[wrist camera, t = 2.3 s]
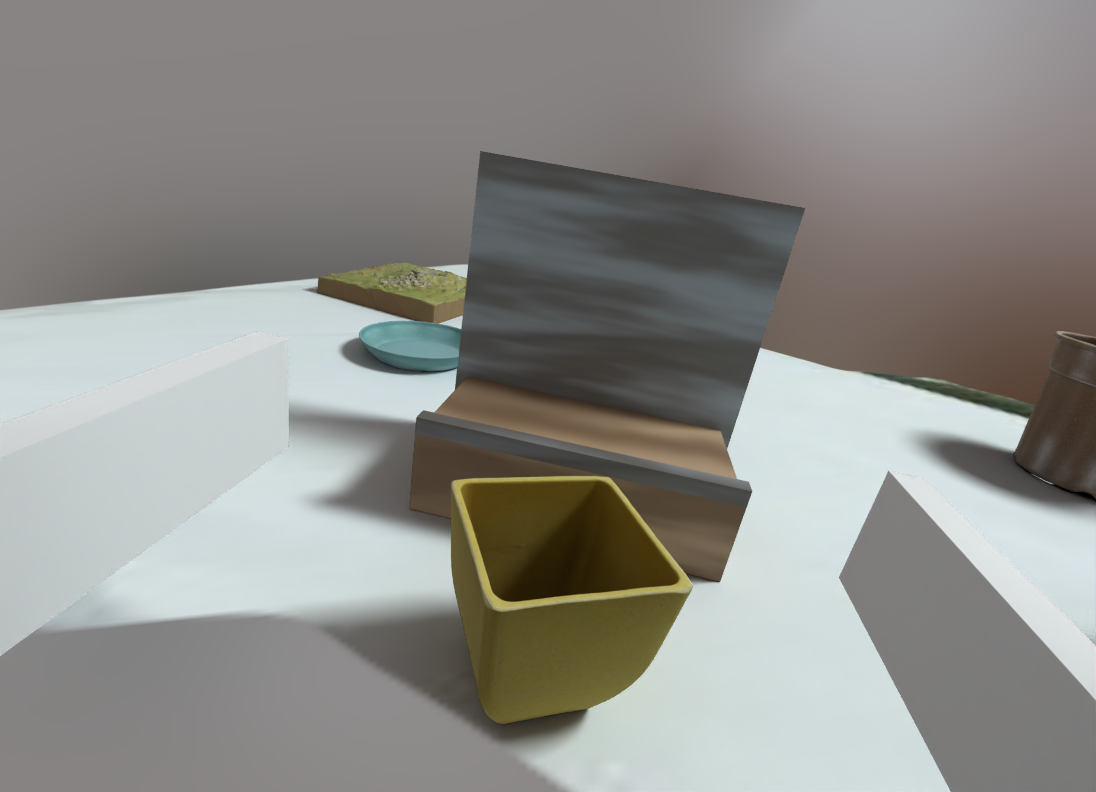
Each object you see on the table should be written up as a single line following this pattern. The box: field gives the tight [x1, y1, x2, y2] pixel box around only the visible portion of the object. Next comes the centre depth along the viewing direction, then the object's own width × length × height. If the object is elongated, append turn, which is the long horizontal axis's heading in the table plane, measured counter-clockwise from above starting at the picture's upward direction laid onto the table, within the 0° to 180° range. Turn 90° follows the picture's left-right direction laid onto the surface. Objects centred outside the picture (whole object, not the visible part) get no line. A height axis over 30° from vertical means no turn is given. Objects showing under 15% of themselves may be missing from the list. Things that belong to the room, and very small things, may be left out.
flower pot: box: [451, 476, 693, 724], centre depth 26 cm, size 9×9×9 cm
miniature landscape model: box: [317, 262, 467, 324], centre depth 93 cm, size 22×24×5 cm
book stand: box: [409, 151, 805, 582], centre depth 40 cm, size 14×24×24 cm, turn 81°
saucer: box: [359, 321, 461, 371], centre depth 67 cm, size 15×15×3 cm
